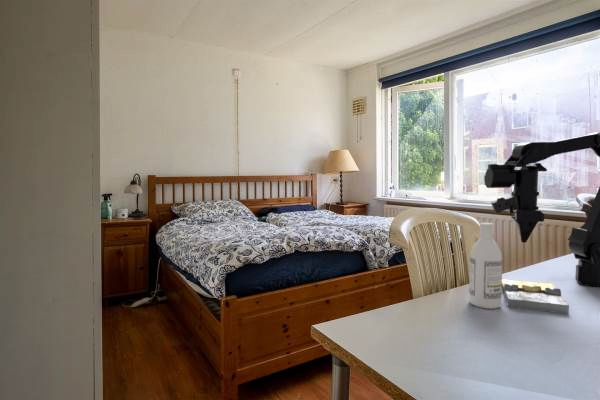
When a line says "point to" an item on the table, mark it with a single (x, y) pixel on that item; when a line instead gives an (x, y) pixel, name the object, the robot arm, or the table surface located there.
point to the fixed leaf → (536, 299)
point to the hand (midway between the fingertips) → (523, 242)
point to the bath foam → (485, 270)
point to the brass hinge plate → (528, 286)
